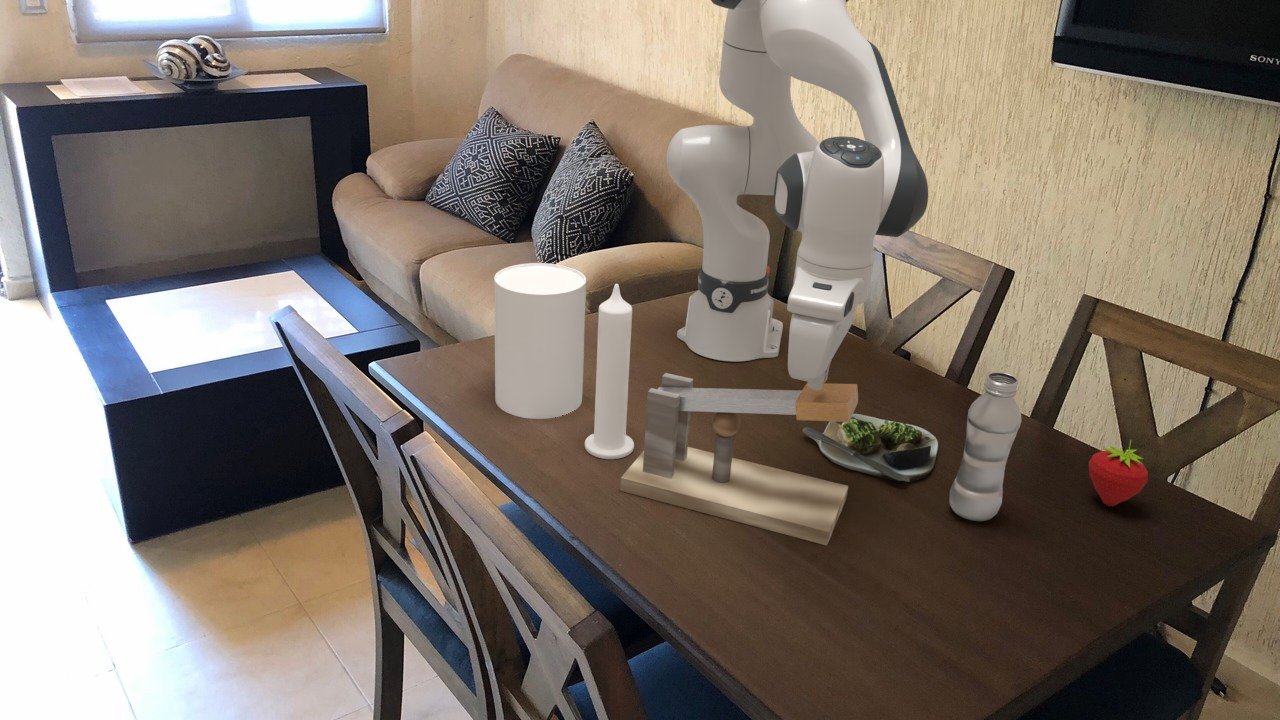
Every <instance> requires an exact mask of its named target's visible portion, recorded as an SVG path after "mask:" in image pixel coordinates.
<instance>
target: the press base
mask: <svg viewBox="0 0 1280 720" xmlns="http://www.w3.org/2000/svg"><path fill="white" fill-rule="evenodd" d="M660 387H675V388H694V378H691V377H685V376H682V375H676V374H672V373H667V372H665V373H664V374H663V375H662V376H661V386H660ZM679 400H680V394H675V393H671V392H666V391H662V390H658V388H653V387H651V388H650V389H649V390H648V391H647V398H646V414H645V416H646V417H645V429H644V443H643V451H642V452H641V453H640V455H638V457H637V458H636V459H635V461H633V463H632V464H631V465H630V466H629V467H628V468H627V470H626V471H625V472H624V473H623V475H622V476H621V477H620V484H619V485H620V487H619V489H620V491H621V492H624V493H628V494H631V495H634V496H639V497H642V498H643V497H644V498H646V499H650V500H655V501H657V502H662V503H665V504H669V505H672V506H673V505H674V506H677V507H680V508H685V509H688V510H692V511H696V512H698V513H703V514H706V515H710V516H714V517H717V518H721V519H726V520H729V521H733V522H736V523H740V524H744V525H749V526H751V527H752V526H753V527H756V528H759V529H763V530H766V531H769V532H770V531H771V532H775V533H779V534H782V535H787V536H789V537H793V538H796V539H801V540H804V541H808V542H812V543H816V544H820V545H822V546H823V545H824V546H828V545H829V541H830V539H831V537H832V535H833V532H834V530H835V527H836V524H837V522H838V520H839V518H840V515H841V513H842V510H843V508H844V505H845V503H846V500H847V497H848V492H849V485H845V484H842V483H837V482H834V481H830V480H825V479H821V478H817V477H813V476H809V475H804V474H801V473H797V472H792V471H788V470H785V469H780V468H776V467H774V466H773V467H772V466H768V465H764V464H760V463H756V462H751V461H747V460H744V459H739V458H735V457H733V452H734V442H735V434H737V433H738V431H739V430H740V427H741V418H740V416H739V415H738V413H728V412H715V414H714V416H713V419H712V427H713V430H714V431H715V432H716V433H715V441H714V442H715V444H714V451H713V452H712V451H711V452H710V451H706V450H703V449H699V448H695V447H690V446H689V445H688V444H689V436H690V435H689V433H690V422H691V413H692V411H679Z"/></svg>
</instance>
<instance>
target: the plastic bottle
mask: <svg viewBox="0 0 1280 720" xmlns="http://www.w3.org/2000/svg"><path fill="white" fill-rule="evenodd" d="M1018 385H1019V383H1018V378H1017V377H1016V376H1015V375H1012V374H1010V373H1006V372H1001V371H1000V372H999V371H996V372H995V371H994V372H991V373H988V374H987V376H986V381H985V384H984V386H983V389H984V390H983V391H985V392H984V393H982V394H981V395H980V396H978V397H977V399H975V400H974V401H973V402H972V403H971V405H970V407H969V409H968V410H967V411H968V412H967V413H968V414H967V420H966V438H965V443H964V450H963V455H962V456H963V457H962V459H961V462H960V466H959V467H958V471H957V474H956V477H955V479H954V481H953V482H952V485H951V487H950V489H949V505H950V507H951V510H952V511H953V512H954V513H955V515H957V516H959V517H961V518H963V519H965V520H969V521H973V522H985V521H986V522H987V521H989V520H991V519H992V518H993V517H995V516H996V515H997V514H998V512H999V511H1000V508H1001V506H1002V504H1003V494H1004V492H1003V488H1004V487H1003V484H1004V478H1005V470H1006V465H1007V462H1008V457H1009V454H1010V452H1011V448H1012V445H1013V443H1014V441H1015V438H1016V436H1017V434H1018V431H1019V429H1020V427H1021V425H1022V412H1021V410H1020V408H1019V405H1018V404H1017V402H1016V400H1015V398H1014V397H1016V395H1017V391H1018V390H1017V389H1018Z"/></svg>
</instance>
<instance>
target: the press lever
mask: <svg viewBox="0 0 1280 720" xmlns="http://www.w3.org/2000/svg"><path fill="white" fill-rule="evenodd" d="M657 389H658V390H662V391H666V392H671V393H675V394H680V400H679V411H691V412H702V413H703V412H704V413H717V412H728V413H737V414H757V415H759V414H760V415H761V414H763V415H764V414H765V415H787V416H788V415H790V416H791V415H792V416H793V415H794V416H795V415H796V421H813V422H815V421H816V422H817V421H818V422H830V421H838V422H849V420H850V418H851V416H852V414H854V412H855V410H856V408H857V405H858V403H859V392H858V391H859V390H858V383H826V382H825V383H824V385H823V387H822V389H821V390H814V389H810V388H809V387H808V382H807V383H806V384H805V385H804V387H803V389H802V390H799V389H797V390H796V389H792V390H790V389H756V388H755V389H753V388H713V387H712V388H711V387H708V388H705V387H693V388H675V387H661V386H659V387H658V388H657Z"/></svg>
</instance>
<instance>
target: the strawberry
mask: <svg viewBox="0 0 1280 720" xmlns="http://www.w3.org/2000/svg"><path fill="white" fill-rule="evenodd" d="M1131 444H1132V439H1130V440H1129V445H1128V449H1126V450H1125V452H1124V450H1121V449H1119V448H1117V447H1114V446H1112V445H1109V447H1110V448H1107V447H1102V450H1101V451H1098V452H1097V453H1094V454H1093V455H1092V457H1091V458H1090V460H1089V461H1088V473H1089V478H1090V480H1091V481H1092V484H1093V486H1094V489H1095V490H1096V492H1097V494H1098V495H1099V497H1100V499H1101V501H1102V503H1103V504H1104V505H1105V504H1106V505H1105V506H1107V505H1108V506H1107V507H1110V506H1112V507H1115V506H1116V505H1118V504H1121V503H1122V502H1126V501H1128V500H1129V499H1131V498H1132V497H1134V496H1136V495H1137V494H1139V493H1141V491H1142V489H1144V487H1145V486H1146V485H1147V483H1148V481H1149V479H1148V478H1149V471H1148V470H1147V468H1146V466H1145V465H1144V464H1143V462H1142V461H1140V460H1144V457H1141V456H1139V455H1137V454H1135V452H1136V451H1137V449H1131Z"/></svg>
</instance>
